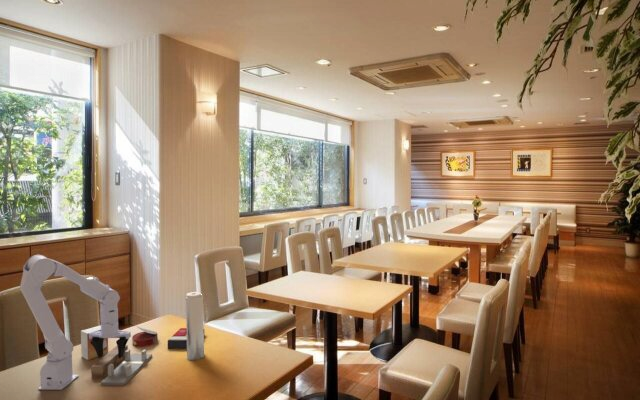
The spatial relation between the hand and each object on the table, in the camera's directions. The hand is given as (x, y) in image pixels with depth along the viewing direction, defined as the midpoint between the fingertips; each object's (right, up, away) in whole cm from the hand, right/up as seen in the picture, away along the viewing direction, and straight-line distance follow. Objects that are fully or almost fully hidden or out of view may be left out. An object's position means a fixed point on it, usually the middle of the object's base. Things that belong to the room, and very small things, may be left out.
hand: (110, 356), depth 152 cm
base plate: (+8, -4, -3) cm, 9 cm away
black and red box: (+21, -3, +23) cm, 31 cm away
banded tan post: (0, -3, 0) cm, 3 cm away
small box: (-11, -3, +9) cm, 15 cm away
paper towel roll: (+29, -3, +8) cm, 30 cm away
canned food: (+3, -2, +22) cm, 22 cm away
